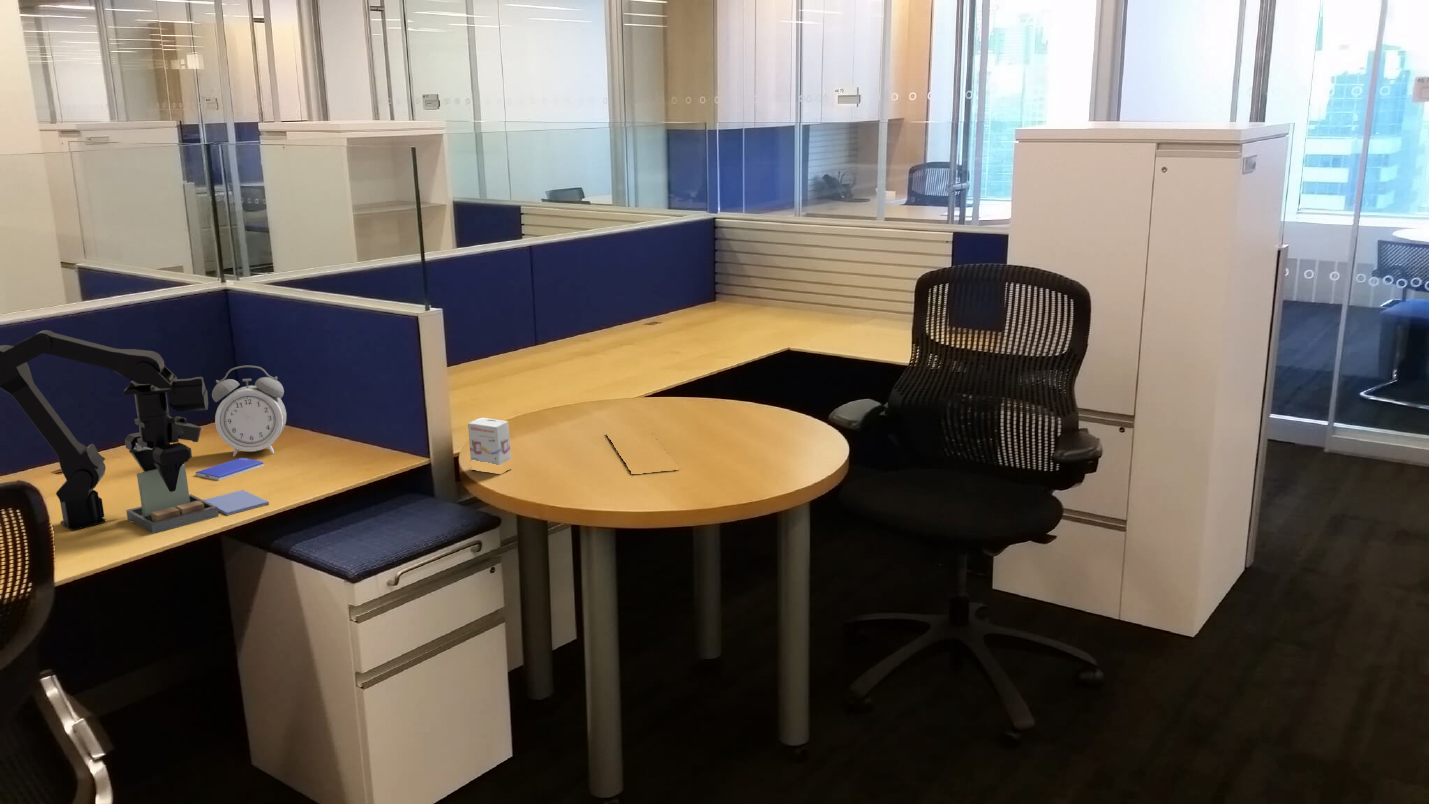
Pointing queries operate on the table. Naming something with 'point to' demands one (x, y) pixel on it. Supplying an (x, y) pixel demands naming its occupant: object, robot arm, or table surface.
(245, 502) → the mat
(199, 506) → the offcut
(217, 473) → the hard drive
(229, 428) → the alarm clock
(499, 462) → the ink box
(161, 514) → the offcut
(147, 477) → the green upright panel
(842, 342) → the table surface
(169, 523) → the rack
